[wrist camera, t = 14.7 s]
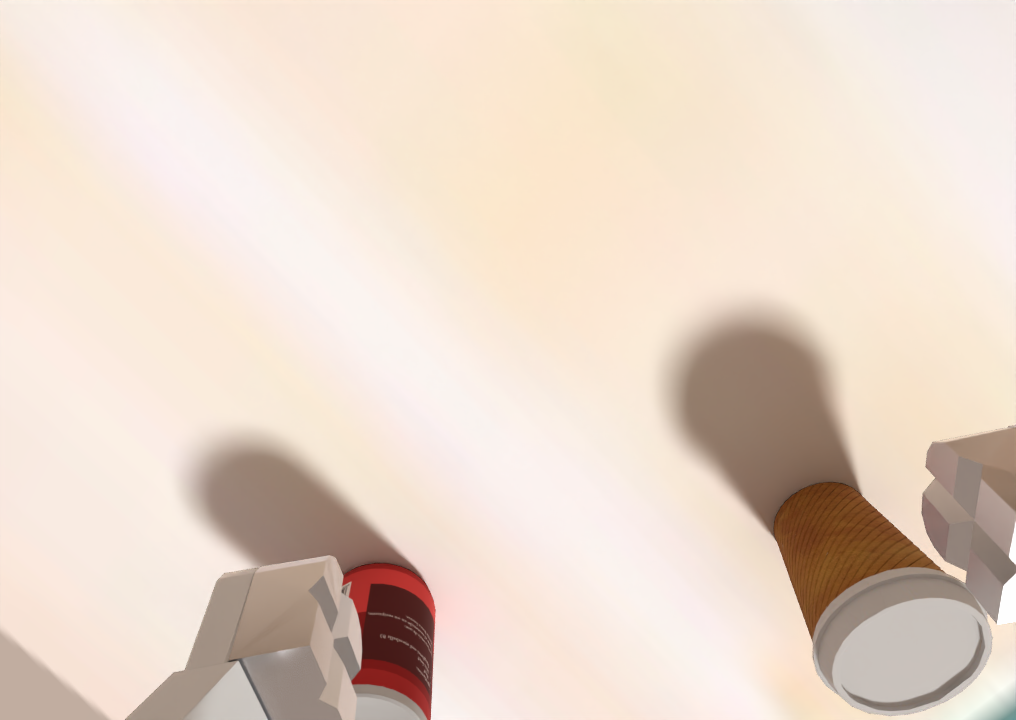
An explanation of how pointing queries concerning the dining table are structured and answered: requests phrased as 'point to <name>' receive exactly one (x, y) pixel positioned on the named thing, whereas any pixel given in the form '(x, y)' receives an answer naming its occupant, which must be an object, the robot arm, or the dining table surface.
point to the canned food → (392, 642)
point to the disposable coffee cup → (878, 605)
